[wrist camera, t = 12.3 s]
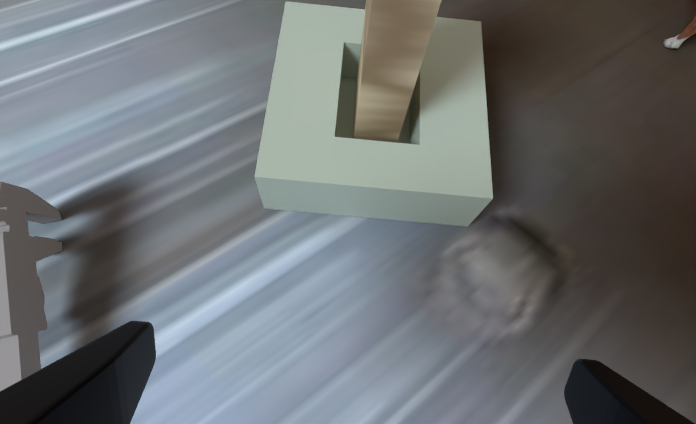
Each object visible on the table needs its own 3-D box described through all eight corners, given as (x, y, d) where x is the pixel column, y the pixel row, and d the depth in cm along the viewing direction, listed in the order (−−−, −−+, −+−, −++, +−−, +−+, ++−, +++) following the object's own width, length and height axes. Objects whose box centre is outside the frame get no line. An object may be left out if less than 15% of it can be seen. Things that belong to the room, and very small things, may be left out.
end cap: (461, 67, 30) (481, 21, 26) (467, 226, 25) (493, 198, 21) (289, 50, 29) (285, 1, 26) (264, 208, 25) (254, 176, 21)
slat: (394, 93, 27) (452, -139, 15) (393, 154, 26) (458, -54, 14) (355, 90, 27) (383, -145, 15) (352, 151, 25) (380, -62, 13)
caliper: (44, 217, 24) (-43, 163, 18) (65, 213, 24) (-15, 158, 18) (36, 688, 17) (-114, 846, 11) (66, 677, 17) (-66, 828, 11)
